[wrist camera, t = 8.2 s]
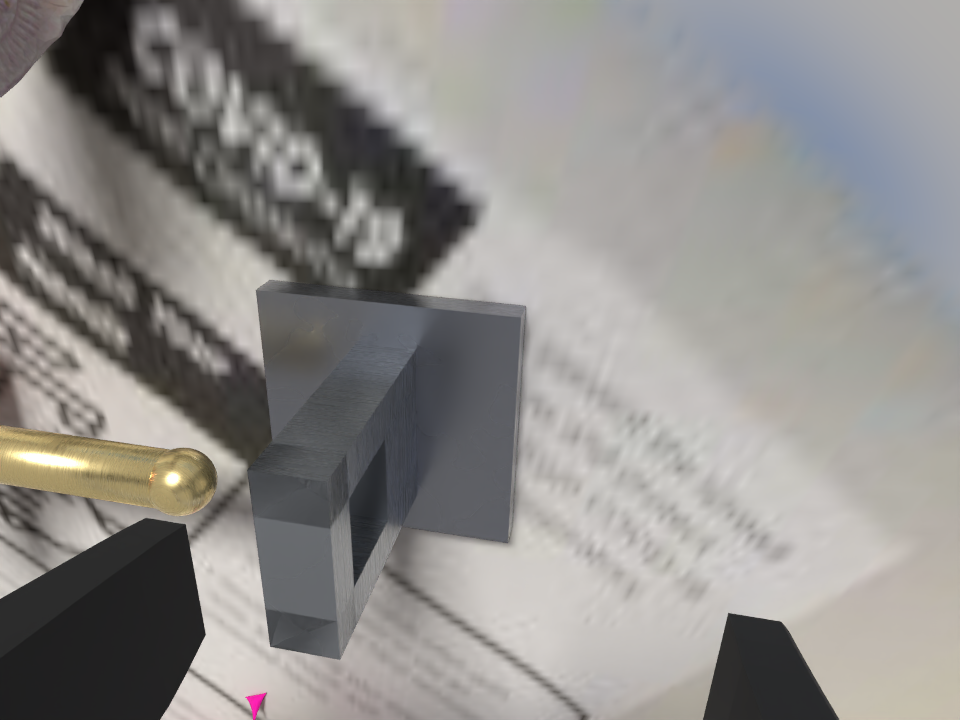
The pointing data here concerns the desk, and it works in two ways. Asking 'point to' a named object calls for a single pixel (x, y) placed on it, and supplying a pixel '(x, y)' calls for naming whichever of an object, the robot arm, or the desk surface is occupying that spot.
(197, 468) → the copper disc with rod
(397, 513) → the eye post
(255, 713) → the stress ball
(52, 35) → the fossil
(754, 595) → the desk surface
